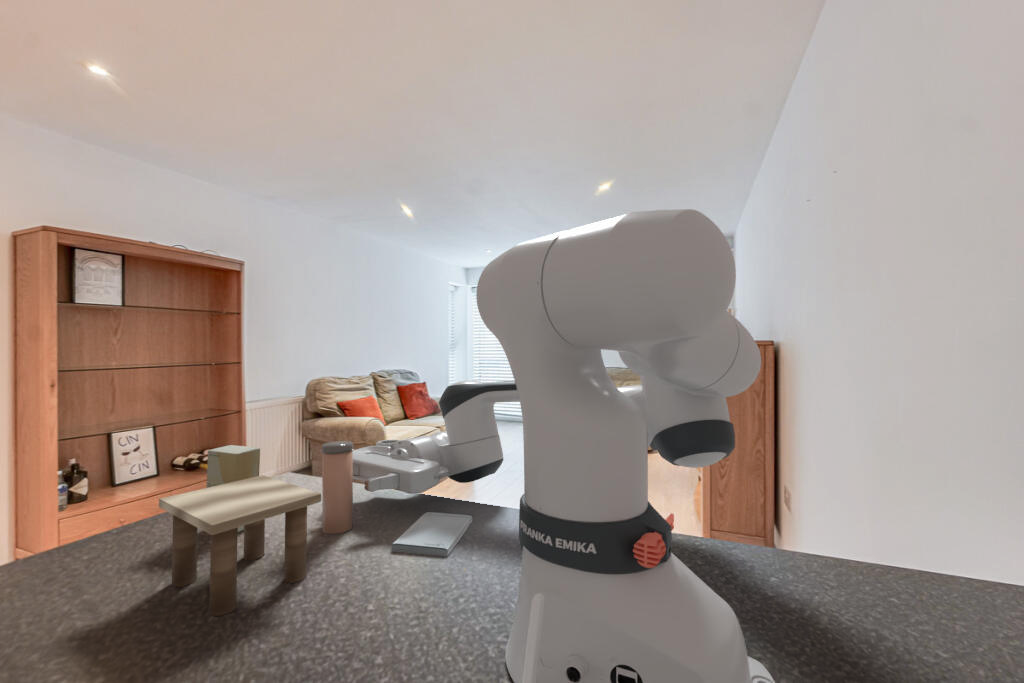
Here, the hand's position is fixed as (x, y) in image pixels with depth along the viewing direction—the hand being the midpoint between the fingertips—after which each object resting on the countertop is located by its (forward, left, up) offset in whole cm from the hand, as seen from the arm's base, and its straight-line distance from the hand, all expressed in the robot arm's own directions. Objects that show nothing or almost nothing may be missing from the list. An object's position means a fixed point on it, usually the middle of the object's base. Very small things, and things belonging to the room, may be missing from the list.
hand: (348, 480), depth 71 cm
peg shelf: (-4, +18, -7) cm, 20 cm away
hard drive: (-14, -5, -8) cm, 17 cm away
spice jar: (0, +2, -7) cm, 7 cm away
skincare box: (+14, +11, -7) cm, 19 cm away
